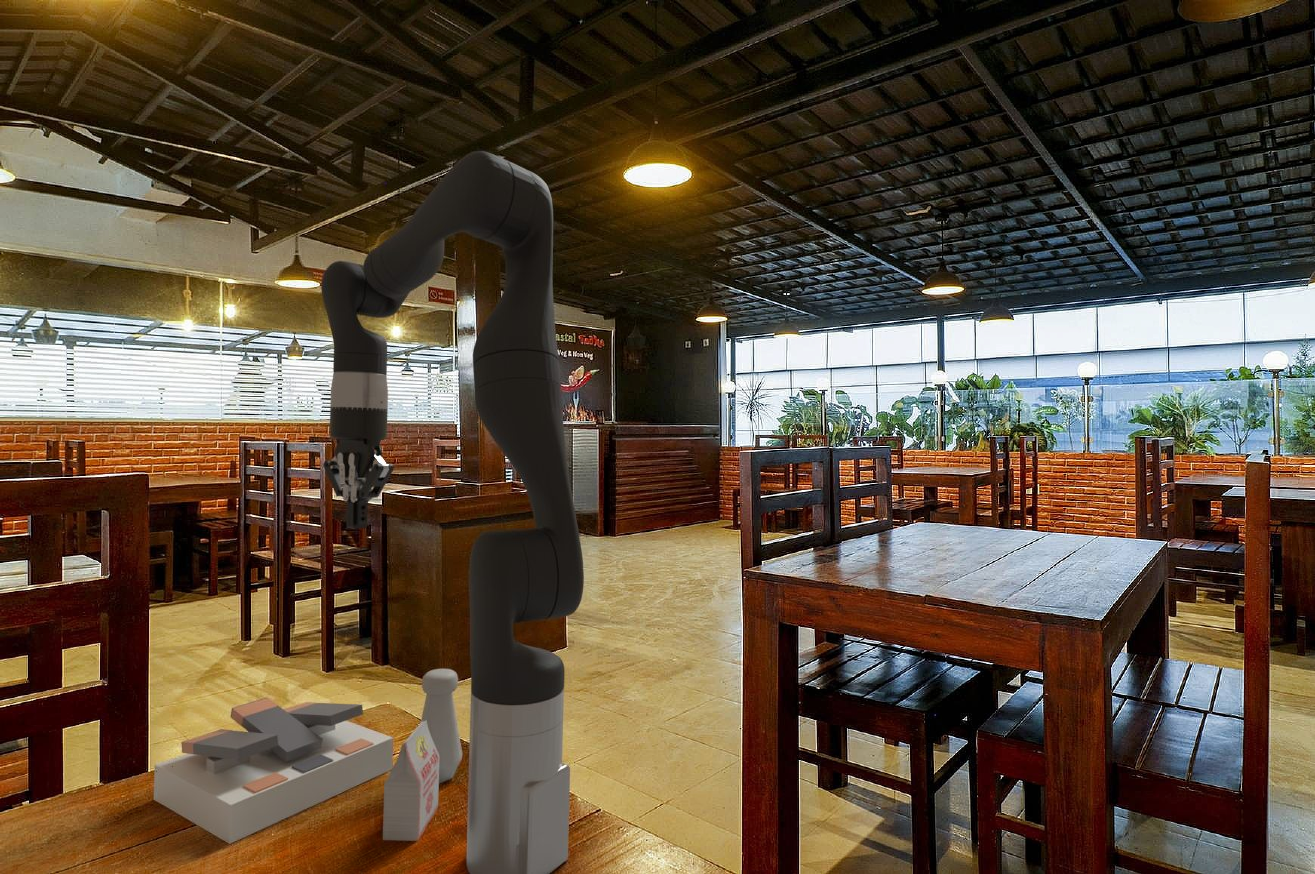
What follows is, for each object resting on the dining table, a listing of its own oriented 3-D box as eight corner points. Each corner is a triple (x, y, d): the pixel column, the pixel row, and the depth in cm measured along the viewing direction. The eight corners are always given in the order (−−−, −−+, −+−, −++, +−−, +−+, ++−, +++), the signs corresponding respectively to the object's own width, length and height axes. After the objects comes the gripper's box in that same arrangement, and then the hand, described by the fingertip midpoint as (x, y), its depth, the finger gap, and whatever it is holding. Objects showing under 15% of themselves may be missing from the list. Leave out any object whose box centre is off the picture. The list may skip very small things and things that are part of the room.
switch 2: (321, 748, 85) (322, 738, 85) (285, 762, 82) (287, 752, 81) (265, 706, 91) (267, 697, 91) (230, 717, 88) (231, 707, 88)
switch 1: (278, 745, 80) (277, 734, 81) (238, 760, 77) (237, 748, 77) (221, 739, 87) (220, 729, 87) (182, 752, 83) (181, 741, 83)
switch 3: (363, 714, 90) (362, 704, 90) (331, 726, 86) (330, 715, 86) (306, 711, 96) (305, 702, 96) (274, 722, 92) (273, 712, 92)
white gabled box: (382, 840, 75) (385, 744, 75) (405, 806, 81) (408, 719, 82) (417, 841, 75) (420, 745, 75) (438, 807, 81) (440, 720, 81)
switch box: (392, 769, 90) (393, 726, 90) (229, 844, 73) (231, 791, 73) (315, 738, 99) (316, 699, 99) (153, 799, 81) (154, 752, 81)
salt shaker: (453, 788, 86) (455, 680, 86) (406, 786, 86) (408, 678, 86) (467, 765, 92) (469, 665, 92) (423, 764, 92) (425, 663, 92)
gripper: (412, 407, 101) (409, 529, 101) (353, 407, 108) (350, 522, 108) (366, 404, 94) (363, 535, 94) (306, 404, 101) (303, 526, 101)
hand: (356, 528), depth 101 cm, fingers closed
